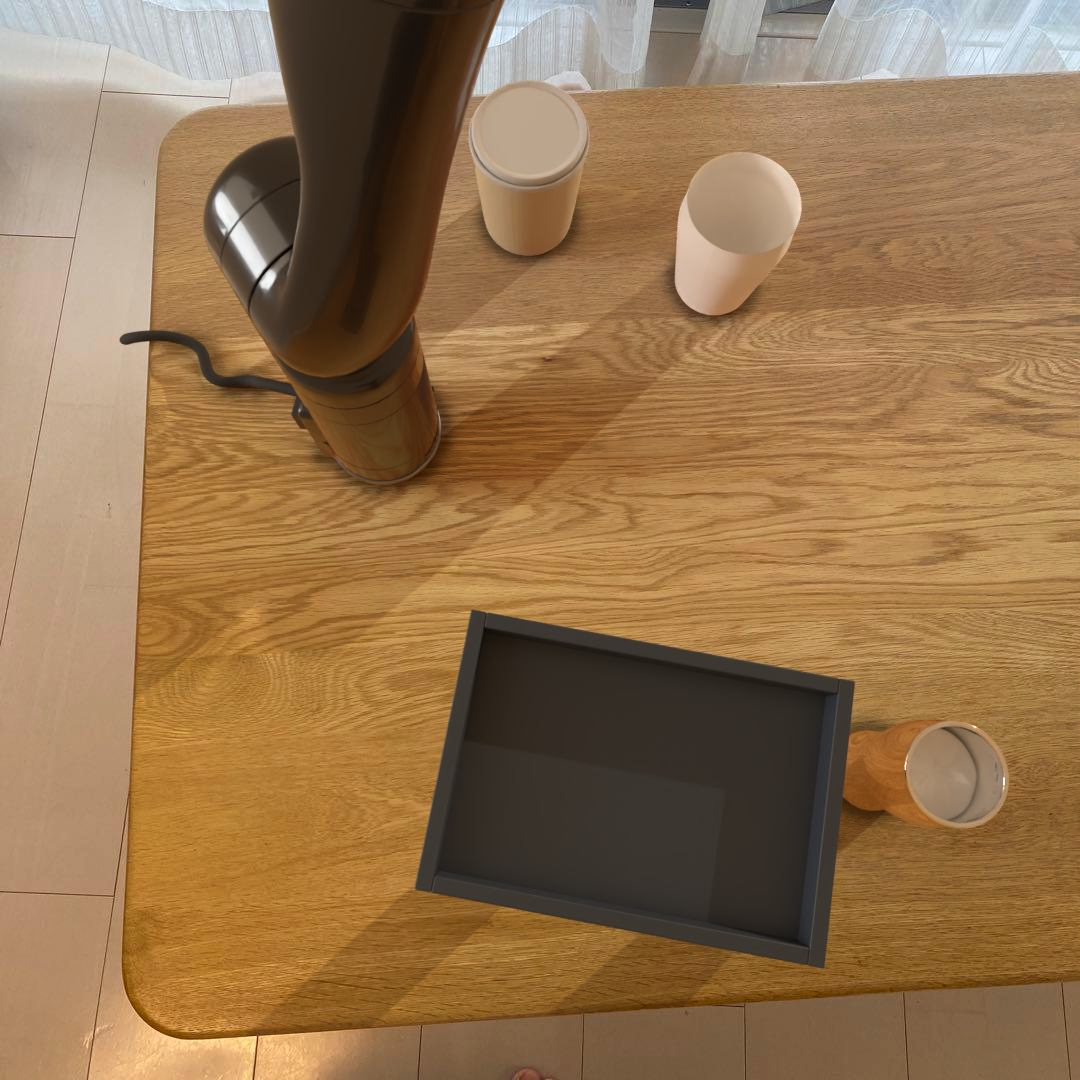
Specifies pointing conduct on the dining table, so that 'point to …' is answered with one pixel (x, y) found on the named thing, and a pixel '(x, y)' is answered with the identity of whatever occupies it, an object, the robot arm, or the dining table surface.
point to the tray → (641, 788)
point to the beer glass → (927, 773)
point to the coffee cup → (528, 163)
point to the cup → (733, 230)
